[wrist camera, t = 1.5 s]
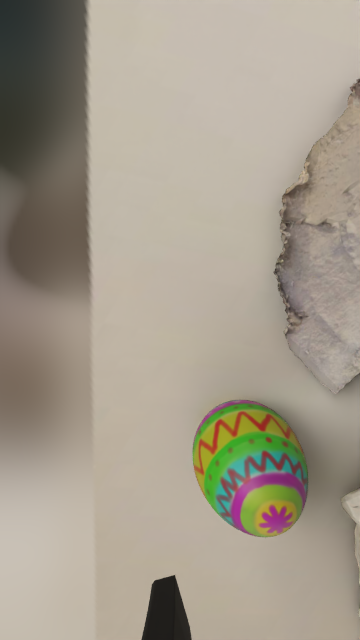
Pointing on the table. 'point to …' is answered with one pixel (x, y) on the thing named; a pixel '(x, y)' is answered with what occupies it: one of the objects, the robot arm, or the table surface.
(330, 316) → the decorative stone
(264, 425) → the egg
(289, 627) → the table surface
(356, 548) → the rock
